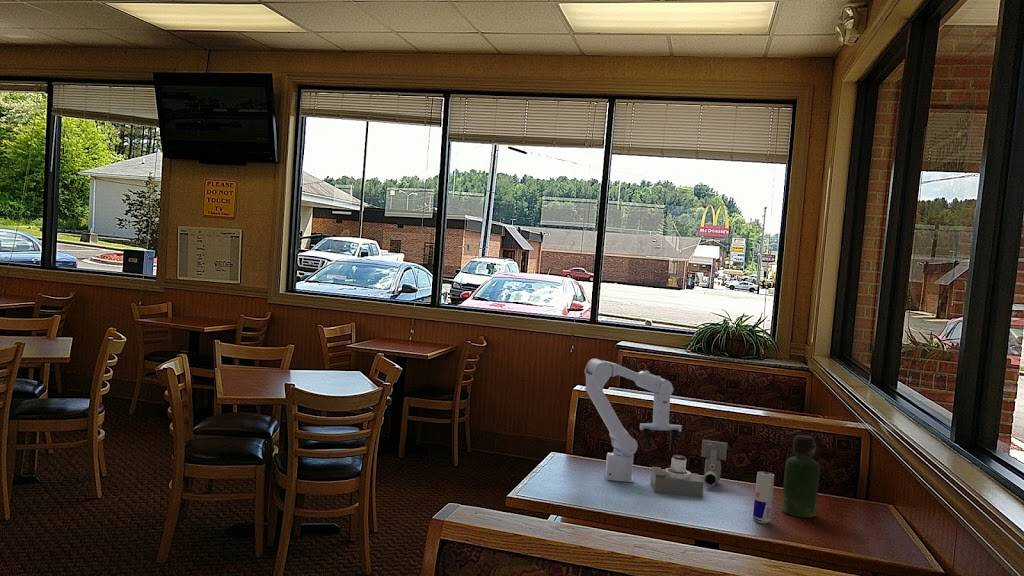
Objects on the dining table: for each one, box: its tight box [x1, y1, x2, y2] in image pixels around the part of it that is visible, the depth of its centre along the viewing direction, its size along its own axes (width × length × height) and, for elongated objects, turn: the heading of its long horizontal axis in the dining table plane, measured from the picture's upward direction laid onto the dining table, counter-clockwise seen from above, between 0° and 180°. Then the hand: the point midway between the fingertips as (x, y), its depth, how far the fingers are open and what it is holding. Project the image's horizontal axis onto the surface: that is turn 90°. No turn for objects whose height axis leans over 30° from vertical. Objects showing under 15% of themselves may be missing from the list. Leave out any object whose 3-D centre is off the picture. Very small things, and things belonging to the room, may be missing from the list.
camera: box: [700, 439, 728, 487], centre depth 287 cm, size 9×12×15 cm
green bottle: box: [780, 434, 821, 519], centre depth 260 cm, size 10×10×25 cm
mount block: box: [650, 466, 705, 498], centre depth 276 cm, size 16×11×6 cm
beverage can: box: [752, 471, 775, 524], centre depth 248 cm, size 5×5×15 cm
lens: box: [670, 454, 688, 474], centre depth 276 cm, size 5×5×7 cm
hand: (659, 450), depth 289 cm, fingers open, 7 cm apart
